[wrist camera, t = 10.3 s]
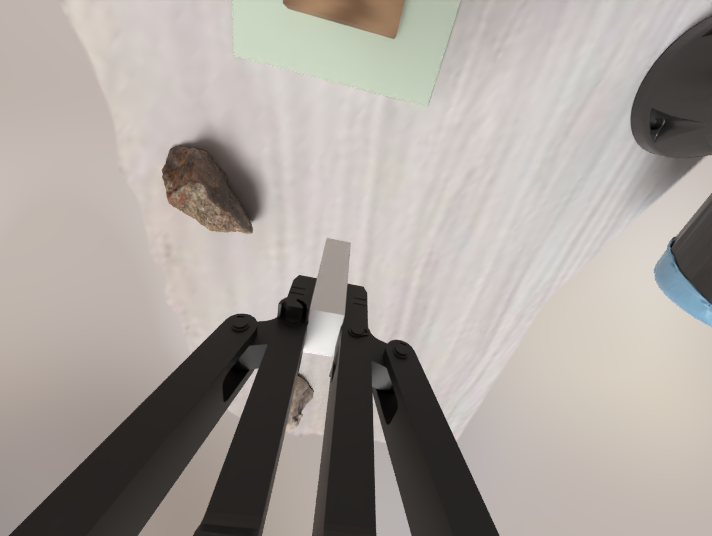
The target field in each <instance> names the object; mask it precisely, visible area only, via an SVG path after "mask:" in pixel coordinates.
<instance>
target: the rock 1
mask: <svg viewBox="0 0 712 536" xmlns="http://www.w3.org/2000/svg"><path fill="white" fill-rule="evenodd" d="M162 173H163V176H162V178H163V180H164V184H165V188H166V194H167V199H168V201H169V204H171V205H172V206H173V207H176V208H177V209H179V210H180V211H181V210H182V211H183V212H184V213H185V214H187V215H189V216H191V217H192V218H195V219H196V220H197V221H198V222H199V223H200V224H201V225H203V226H205V227H206V228H207V229H209V230H211V231H216V232H231V231H232V232H236V231H239V232H243V233H247V234H250V233H252V232H253V227H252V224H251V222H250V220H249V219H248V217H247V214H246V213H245V211H244V209H243V207H242V206H241V205H240V203H239V201H238V200H237V198H236V197H235V195H234V194H233V193H232V192H231V191H230V189H229V186H228V180H227V177H226V174H225V173H224V172H223V171H222V170H221V168H220V167H219V166H218V165H217V163H216V162H214V160H213V158H212V157H211V156H210V154H209V153H207V152H206V151H204V150H201V149H200V150H197V149H196V148H190V149H189V148H186V147H184V146H179V147H174V148H172V149H170V151H169V154H168V157H167V160H166V164H165V165H164V167H163V169H162Z"/></svg>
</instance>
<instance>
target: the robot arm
mask: <svg viewBox="0 0 712 536" xmlns="http://www.w3.org/2000/svg"><path fill="white" fill-rule="evenodd" d="M631 129H632V133H633V136H634V138H635V140H636V142H637V143H638V144H639V145H640V146H641V147H642V148H643V149H644V150H646V151H648V152H650V153H653V154H658V155H662V156H667V157H673V158H688V157H698V156H707V155H712V16H711V17H709V18H707V19H705V20H704V21H702V22H700V23H699V24H697V25H696V26H694V27H693V28H691V29H690V30H688V31H687V32H686V33H685V34H683V35H682V36H681V37H680V38H679V39H677V40H676V41H675V42H674V43H673V44H672V45H671V46H670V47H669V48H668V49H667V50H666V51H665V52H664V53H663V54H662V56H661V57H660V58H659V59H658V60H657V62H656V63H655V64H654V65H653V67H652V68H651V70H650V71H649V73H648V74H647V76H646V77H645V79H644V81H643V83H642V84H641V86H640V88H639V91H638V93H637V95H636V98H635V101H634V104H633V108H632V114H631ZM350 245H351V243H349V242H344V241H339V240H334V239H329V238H327V240H326V244H325V248H324V252H323V256H322V260H321V264H320V269H319V273H318V277H317V278H312V277H307V276H302V275H299V276H298V277H297V278H295V279H294V280H293V283H292V286H291V288H290V291H289V294H288V297H287V298H284V299H283V300H281V301H280V303H279V305H278V316H277V317H276V318H275V319H272V320H269V321H259V322H257V321H256V319H255V318H254V317H252V316H251V315H248V314H236V315H233V316H230V317H229V318H227V319H226V320H225V321H224V322H223V323H222V324H221V325H220V326H219V327H218V328H217V329H216V330H215V331H214V332H213V333H212V334H211V335H210V336H209V337H208V338H207V339H206V340H205V341H204V342H203V343H202V344H201V345H200V346H199V347H198V348H197V349H196V350H195V351H194V352H193V353H192V354H191V355H190V356H189V357H188V358H187V359H186V360H185V361H184V362H183V363H182V364H181V365H180V366H179V367H178V368H177V369H176V370H175V371H174V372H173V373H172V374H171V375H170V376H169V377H168V378H167V379H166V380H165V381H164V382H163V383H162V384H161V385H160V386H159V387H158V388H157V389H156V390H155V391H154V392H153V393H152V394H151V395H150V396H149V397H148V398H147V399H146V400H145V401H144V402H143V403H142V404H141V405H140V406H139V407H138V408H137V409H136V410H135V411H134V412H133V413H132V414H131V415H130V416H129V417H128V418H127V419H126V420H125V421H124V422H122V424H120V426H118V427H117V428H116V429H115V430H114V432H112V434H110V436H108V437H107V438H106V439H105V441H103V443H101V444H100V445H99V446H98V447H97V448H96V449H95V450H94V451H93V452H92V453H91V454H90V455H89V456H88V457H87V459H85V460H84V461H83V462H82V463H81V464H80V465H79V466H78V467H77V468H76V469H75V470H74V471H73V472H72V473H71V474H70V476H68V477H67V478H66V479H65V480H64V481H63V482H62V483H61V484H60V485H59V486H58V487H57V488H56V489H55V490H54V491H53V492H52V493H51V494H50V495H49V496H48V497H47V498H46V499H45V500H44V501H43V502H42V503H41V504H40V505H39V506H38V507H37V508H36V509H35V510H34V511H33V512H32V513H31V514H30V515H29V516H28V517H27V518H26V519H25V520H24V521H23V522H22V523H21V524H20V525H19V526H18V527H17V528H16V529H15V530H14V531H13V532H12V533H11V534H10V535H9V536H138V534H139V533H140V532H141V530H142V529H143V527H144V526H145V525H146V523H147V522H148V520H149V519H150V517H151V516H152V515H153V513H154V512H155V510H156V509H157V507H158V506H159V504H160V503H161V502H162V500H163V499H164V498H165V496H166V495H167V493H168V492H169V490H170V489H171V488H172V486H173V485H174V483H175V482H176V481H177V479H178V478H179V476H180V475H181V473H182V472H183V471H184V469H185V467H186V466H187V465H188V463H189V462H190V461H191V459H192V458H193V456H194V455H195V454H196V452H197V450H198V449H199V448H200V446H201V445H202V443H203V442H204V441H205V439H206V438H207V437H208V435H209V434H210V432H211V431H212V429H213V428H214V427H215V425H216V424H217V422H218V421H219V419H220V418H221V417H222V415H223V414H224V412H225V411H226V410H227V408H228V407H229V405H230V404H231V402H232V401H233V400H234V398H235V397H236V395H237V394H238V393H239V391H240V390H241V388H242V387H243V385H244V384H245V383H246V381H247V380H248V378H249V377H250V376H251V374H252V373H253V371H254V369H257V368H259V369H258V372H257V375H256V377H255V380H254V383H253V385H252V388H251V391H250V394H249V396H248V399H247V402H246V405H245V407H244V410H243V413H242V415H241V418H240V421H239V424H238V426H237V429H236V432H235V434H234V438H233V440H232V443H231V445H230V448H229V451H228V454H227V456H226V459H225V462H224V464H223V467H222V470H221V472H220V475H219V478H218V481H217V483H216V486H215V489H214V492H213V494H212V497H211V500H210V502H209V505H208V508H207V511H206V513H205V516H204V518H203V520H202V522H201V524H200V525H199V527H198V528H197V529H196V531H195V533H194V535H193V536H262V533H263V528H264V524H265V519H266V515H267V511H268V506H269V501H270V497H271V493H272V488H273V484H274V479H275V474H276V470H277V466H278V461H279V457H280V452H281V448H282V444H283V439H284V435H285V430H286V426H287V421H288V417H289V412H290V408H291V403H292V399H293V395H294V390H295V386H296V381H297V377H298V372H299V368H300V363H301V358H302V353H303V352H307V353H313V354H319V355H325V356H331V357H334V361H333V364H332V368H331V372H330V375H329V377H331V378H330V387H329V395H328V404H327V413H326V421H325V430H324V438H323V447H322V456H321V464H320V474H319V482H318V490H317V498H316V507H315V515H314V524H313V533H312V536H376V515H375V477H374V435H373V396H374V400H375V403H376V407H377V411H378V414H379V418H380V422H381V425H382V429H383V433H384V436H385V440H386V444H387V447H388V451H389V455H390V458H391V461H392V465H393V469H394V473H395V476H396V480H397V484H398V487H399V491H400V495H401V498H402V502H403V505H404V509H405V513H406V516H407V520H408V524H409V527H410V531H411V535H412V536H499V534H498V531H497V529H496V527H495V525H494V523H493V521H492V518H491V516H490V514H489V512H488V510H487V508H486V505H485V503H484V501H483V499H482V497H481V494H480V492H479V491H478V488H477V486H476V484H475V481H474V479H473V477H472V475H471V473H470V471H469V468H468V466H467V464H466V462H465V460H464V458H463V455H462V453H461V451H460V449H459V447H458V445H457V442H456V440H455V438H454V436H453V434H452V431H451V429H450V427H449V425H448V423H447V421H446V418H445V416H444V414H443V412H442V410H441V408H440V405H439V403H438V401H437V399H436V397H435V395H434V392H433V390H432V388H431V386H430V384H429V382H428V379H427V377H426V375H425V373H424V371H423V369H422V366H421V364H420V362H419V360H418V358H417V355H416V353H415V351H414V350H413V348H412V347H411V346H410V345H409V344H408V343H406V342H404V341H401V340H392V341H390V342H389V343H388V344H387V343H385V342H383V341H380V340H378V339H377V338H375V337H374V336H373V335H372V334H371V333H370V330H369V329H368V311H367V292H366V290H365V289H364V287H362V286H357V285H352V284H347V281H348V269H349V257H350ZM654 273H655V280H656V282H657V284H658V286H659V288H660V289H661V290H662V291H663V293H664V294H665V295H666V296H667V297H668V298H669V299H671V300H672V301H673V302H674V303H675V304H676V305H678V306H679V307H680V308H682V309H683V310H684V311H686V312H687V313H689V314H690V315H692V316H693V317H695V318H697V319H698V320H700V321H702V322H703V323H705V324H707V325H709V326H711V327H712V193H711V195H710V196H709V197H708V198H707V200H706V201H705V202H704V203H703V204H702V206H701V207H700V208H699V209H698V211H697V212H696V213H695V214H694V215H693V217H692V218H691V219H690V220H689V222H688V223H687V224H686V225H685V226H684V228H683V229H682V230H681V231H680V233H679V234H678V235H677V236H676V237H674V238H672V240H671V241H670V242H669V244H668V247H667V250H666V251H665V253H664V254H663V255H662V257H661V258H660V260H659V261H658V262H657V264H656V266H655V268H654ZM372 393H373V396H372Z"/></svg>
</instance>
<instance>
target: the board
mask: <svg viewBox="0 0 712 536" xmlns="http://www.w3.org/2000/svg"><path fill="white" fill-rule="evenodd" d="M404 1H405V0H283V4H284V5H285V6H286V7H287V8H288V9H290V10H294V11H297V12H301V13H304V14H308V15H311V16H315V17H318V18H322V19H325V20H329V21H332V22H336V23H339V24H343V25H346V26H350V27H353V28H357V29H360V30H364V31H367V32H371V33H374V34H378V35H381V36H385V37H388V38H392V39H395V37H396V35H397V31H398V27H399V22H400V18H401V14H402V9H403V5H404Z"/></svg>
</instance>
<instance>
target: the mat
mask: <svg viewBox="0 0 712 536" xmlns="http://www.w3.org/2000/svg"><path fill="white" fill-rule="evenodd" d="M460 1H461V0H405V1H404V5H403V9H402V14H401V18H400V22H399V27H398V31H397V35H396V37H395V39H392V38H388V37H385V36H381V35H378V34H374V33H371V32H367V31H364V30H360V29H357V28H353V27H350V26H346V25H343V24H339V23H336V22H332V21H329V20H325V19H322V18H318V17H315V16H311V15H308V14H304V13H301V12H297V11H294V10H290V9H288V8H287V7H286V6H285V5H284V4H283V0H232V10H233V56H236V57H240V58H244V59H248V60H251V61H255V62H259V63H263V64H267V65H270V66H274V67H278V68H282V69H286V70H289V71H293V72H297V73H301V74H305V75H308V76H312V77H316V78H320V79H323V80H327V81H331V82H335V83H339V84H342V85H346V86H350V87H354V88H358V89H361V90H365V91H369V92H373V93H377V94H380V95H384V96H388V97H392V98H396V99H399V100H403V101H407V102H411V103H414V104H418V105H422V106H426V107H428V103H429V100H430V97H431V94H432V91H433V87H434V84H435V81H436V78H437V75H438V72H439V68H440V65H441V62H442V59H443V56H444V52H445V49H446V46H447V43H448V40H449V37H450V33H451V30H452V27H453V24H454V21H455V17H456V14H457V11H458V8H459V5H460Z"/></svg>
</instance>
